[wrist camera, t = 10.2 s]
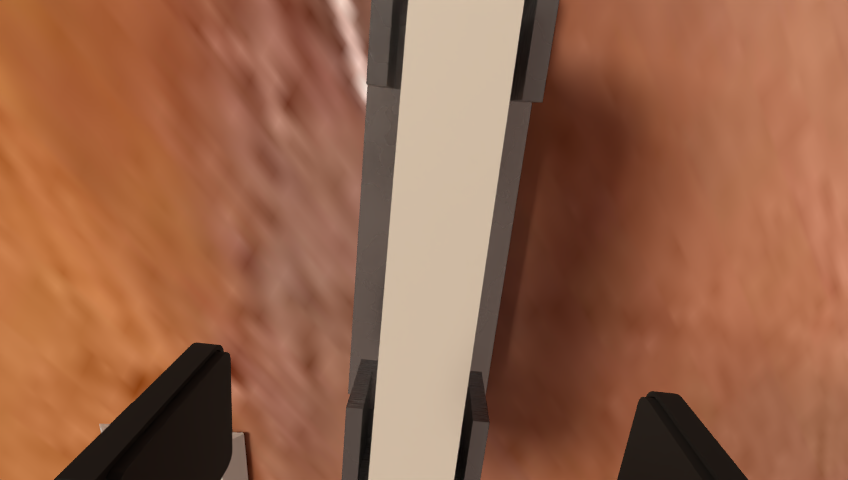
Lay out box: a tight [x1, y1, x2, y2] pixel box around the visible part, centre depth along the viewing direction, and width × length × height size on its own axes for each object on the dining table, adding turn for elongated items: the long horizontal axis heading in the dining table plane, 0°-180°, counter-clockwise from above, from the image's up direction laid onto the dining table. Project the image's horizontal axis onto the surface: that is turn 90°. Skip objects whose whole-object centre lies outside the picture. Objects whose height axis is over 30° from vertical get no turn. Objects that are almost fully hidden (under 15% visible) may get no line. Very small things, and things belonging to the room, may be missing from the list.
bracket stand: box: [342, 0, 559, 480], centre depth 26 cm, size 28×10×12 cm, turn 174°
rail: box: [368, 0, 524, 480], centre depth 22 cm, size 22×4×5 cm, turn 174°
